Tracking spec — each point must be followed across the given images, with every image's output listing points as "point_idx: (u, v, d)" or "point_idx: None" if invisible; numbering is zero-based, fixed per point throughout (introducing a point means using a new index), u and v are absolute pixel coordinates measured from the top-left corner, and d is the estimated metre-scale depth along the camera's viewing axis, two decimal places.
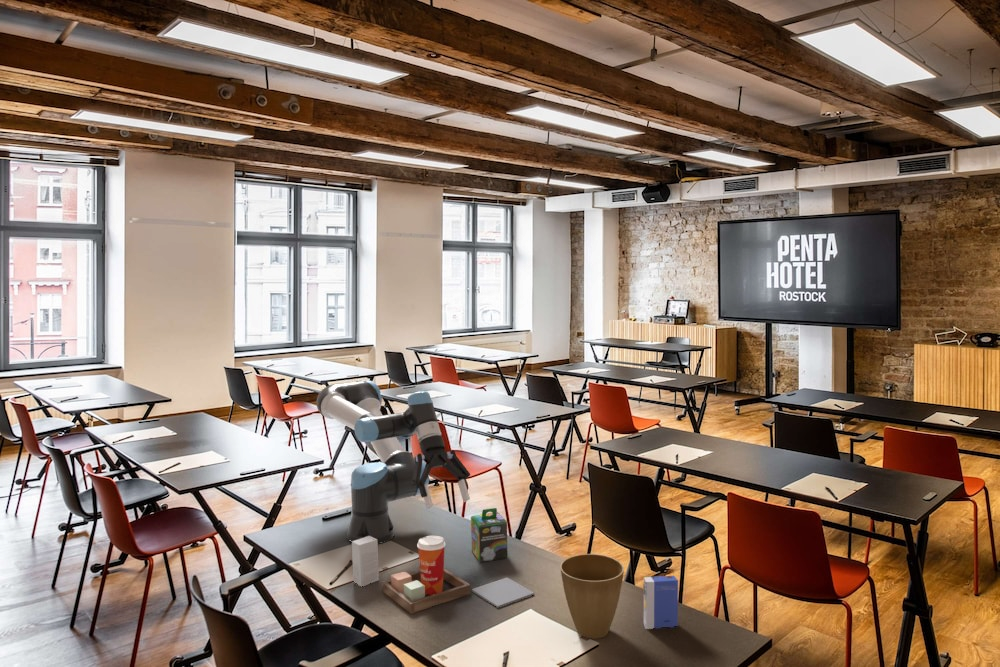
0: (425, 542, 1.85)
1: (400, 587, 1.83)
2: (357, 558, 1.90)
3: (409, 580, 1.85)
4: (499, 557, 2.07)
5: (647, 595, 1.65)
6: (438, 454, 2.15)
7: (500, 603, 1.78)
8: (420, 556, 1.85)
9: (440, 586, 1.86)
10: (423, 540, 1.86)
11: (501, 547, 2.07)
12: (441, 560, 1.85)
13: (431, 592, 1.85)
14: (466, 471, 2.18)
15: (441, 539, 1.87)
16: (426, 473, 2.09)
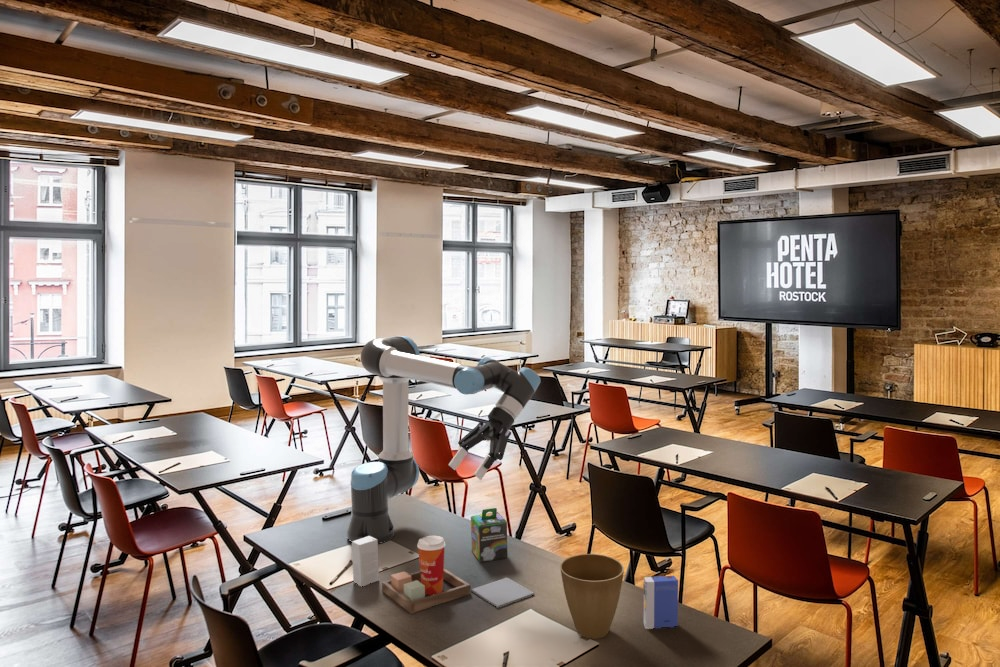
0: (425, 542, 1.85)
1: (400, 587, 1.83)
2: (357, 558, 1.90)
3: (409, 580, 1.85)
4: (499, 557, 2.07)
5: (647, 595, 1.65)
6: None
7: (500, 603, 1.78)
8: (420, 556, 1.85)
9: (440, 586, 1.86)
10: (423, 540, 1.86)
11: (501, 547, 2.07)
12: (441, 560, 1.85)
13: (431, 592, 1.85)
14: None
15: (441, 539, 1.87)
16: None
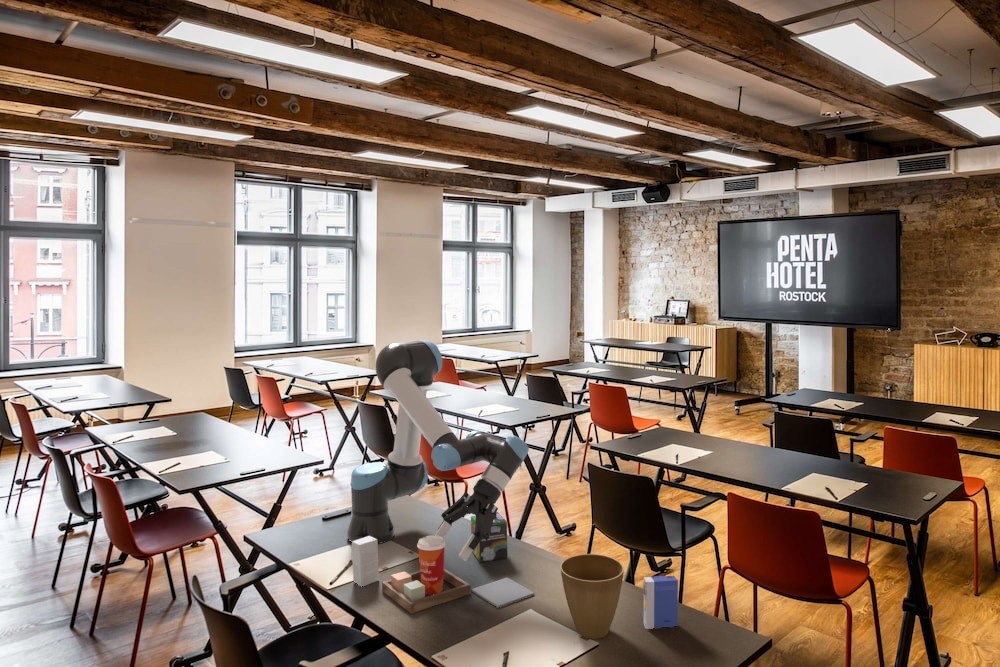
0: (425, 542, 1.85)
1: (400, 587, 1.83)
2: (357, 558, 1.90)
3: (409, 580, 1.85)
4: (499, 557, 2.07)
5: (647, 595, 1.65)
6: None
7: (500, 603, 1.78)
8: (420, 556, 1.85)
9: (440, 586, 1.86)
10: (423, 540, 1.86)
11: (501, 547, 2.07)
12: (441, 560, 1.85)
13: (431, 592, 1.85)
14: None
15: (441, 539, 1.87)
16: None
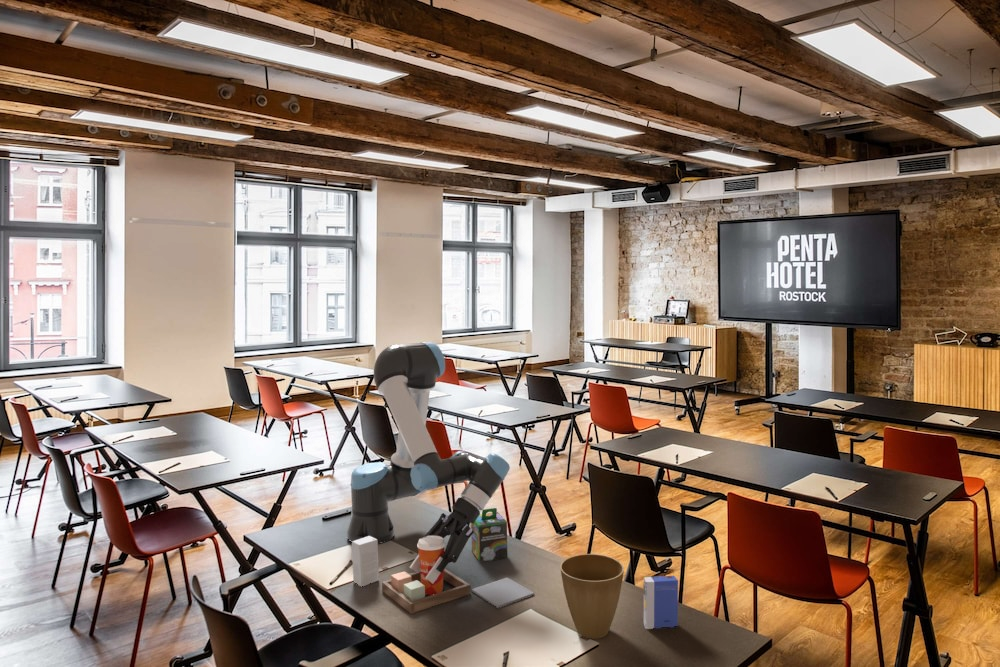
0: (425, 542, 1.85)
1: (400, 587, 1.83)
2: (357, 558, 1.90)
3: (409, 580, 1.85)
4: (499, 557, 2.07)
5: (647, 595, 1.65)
6: None
7: (500, 603, 1.78)
8: (420, 556, 1.85)
9: (440, 586, 1.86)
10: (423, 540, 1.86)
11: (501, 547, 2.07)
12: None
13: (431, 592, 1.85)
14: None
15: (441, 539, 1.87)
16: None
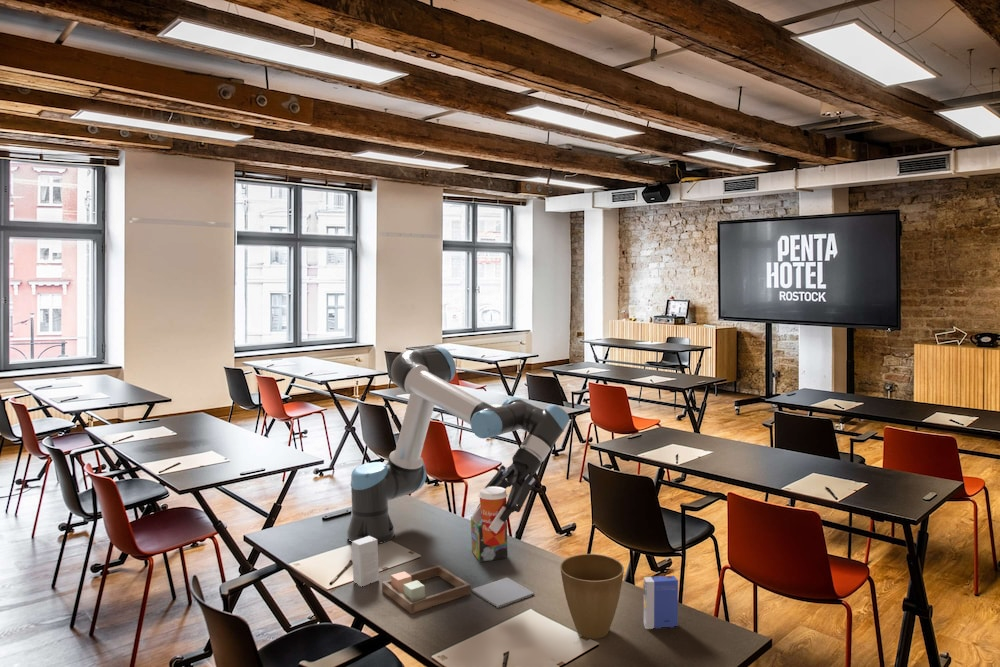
0: (487, 492, 1.81)
1: (400, 587, 1.83)
2: (357, 558, 1.90)
3: (409, 580, 1.85)
4: (499, 557, 2.07)
5: (647, 595, 1.65)
6: None
7: (500, 603, 1.78)
8: (482, 506, 1.81)
9: (502, 537, 1.82)
10: (484, 490, 1.82)
11: (501, 547, 2.07)
12: None
13: (493, 543, 1.81)
14: None
15: (503, 489, 1.83)
16: None
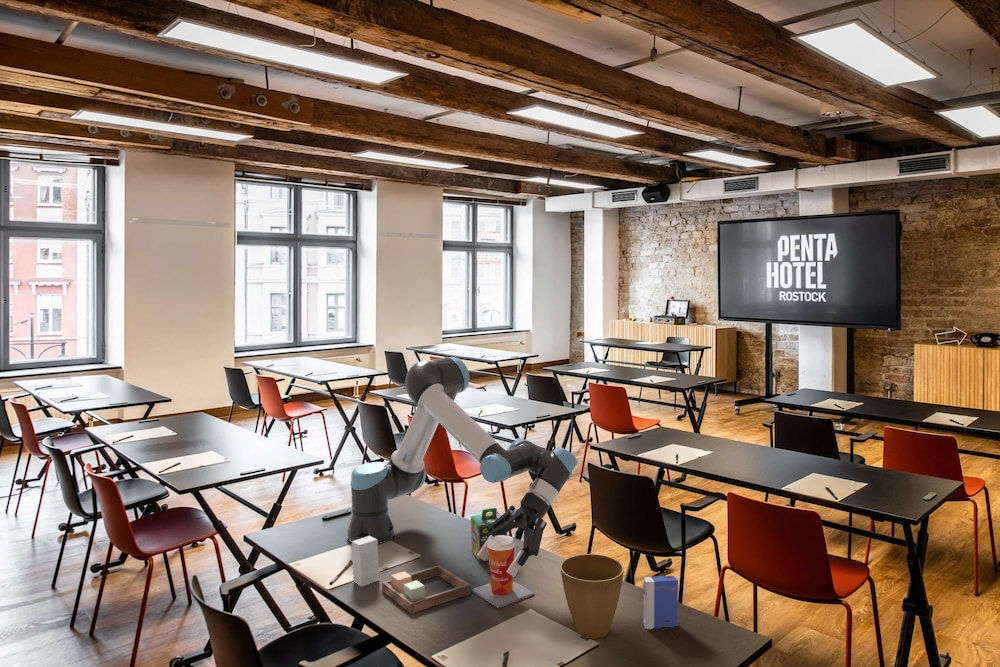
0: (495, 542, 1.82)
1: (400, 587, 1.83)
2: (357, 558, 1.90)
3: (409, 580, 1.85)
4: None
5: (647, 595, 1.65)
6: None
7: (500, 603, 1.78)
8: (490, 556, 1.82)
9: (510, 586, 1.84)
10: (493, 540, 1.84)
11: None
12: (512, 560, 1.83)
13: (502, 592, 1.82)
14: None
15: (511, 539, 1.84)
16: None
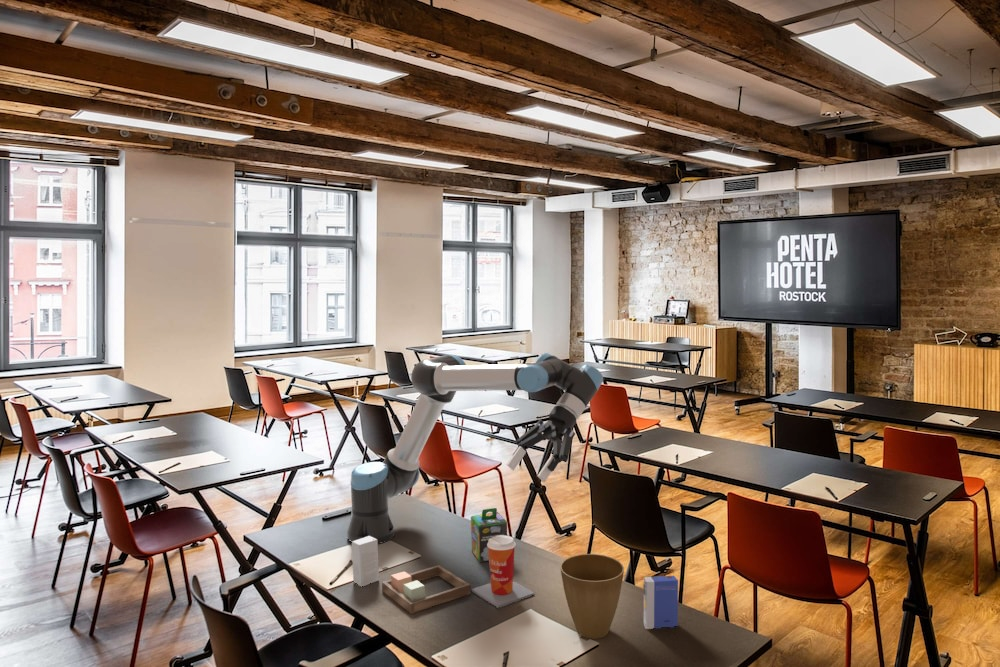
0: (495, 542, 1.83)
1: (400, 587, 1.83)
2: (357, 558, 1.90)
3: (409, 580, 1.85)
4: None
5: (647, 595, 1.65)
6: None
7: (500, 603, 1.78)
8: (490, 556, 1.83)
9: (510, 586, 1.84)
10: (493, 540, 1.84)
11: None
12: (512, 560, 1.83)
13: (502, 592, 1.82)
14: None
15: (511, 539, 1.85)
16: None
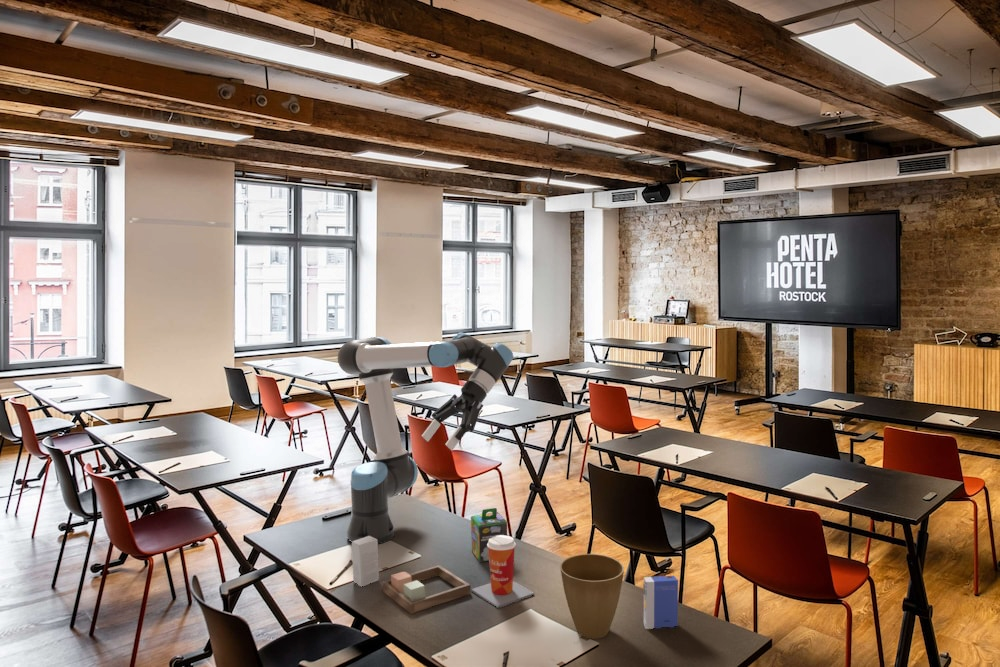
0: (496, 542, 1.83)
1: (400, 587, 1.83)
2: (357, 558, 1.90)
3: (409, 580, 1.85)
4: None
5: (647, 595, 1.65)
6: None
7: (500, 603, 1.78)
8: (491, 556, 1.83)
9: (510, 586, 1.84)
10: (493, 540, 1.84)
11: None
12: (512, 560, 1.83)
13: (502, 592, 1.82)
14: None
15: (511, 539, 1.85)
16: None
